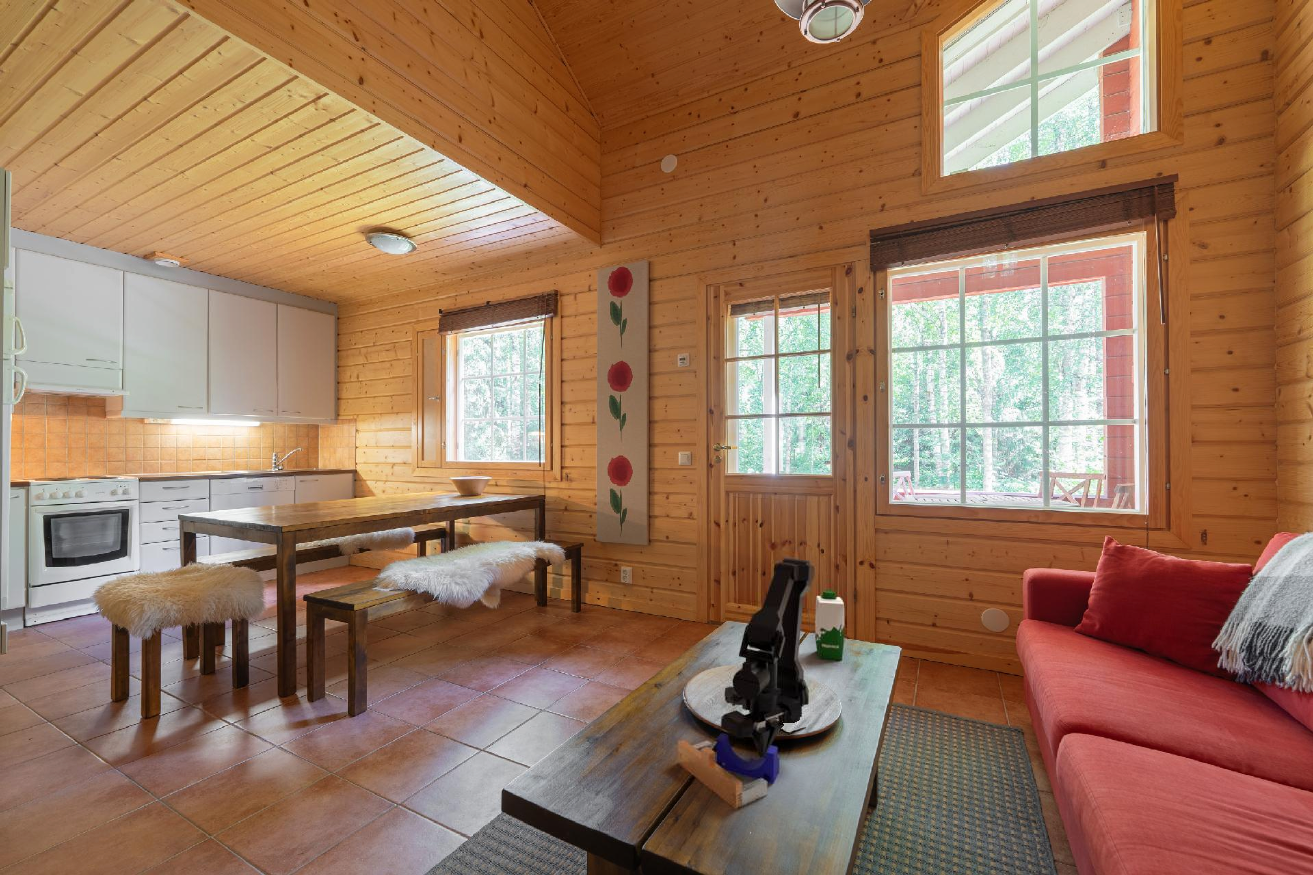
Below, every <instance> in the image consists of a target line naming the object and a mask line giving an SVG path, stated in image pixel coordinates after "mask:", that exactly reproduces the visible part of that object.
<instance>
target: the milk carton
mask: <svg viewBox="0 0 1313 875" xmlns="http://www.w3.org/2000/svg"><path fill="white" fill-rule="evenodd" d="M814 617H815V622H814V624H815V625H814V632H815V633H814V638H815V648H816V652H817V656H818V659H820V660H832V661H834V660H835V661H843V657H844V656H843V654H844V647H845V646H844V645H845V604H844V601H843V599H842V598H841V597H839V596H836V591H835V590H832V589H831V590H829V589H828V590H827V589H824V590H822V595H816V600H815V616H814Z"/></svg>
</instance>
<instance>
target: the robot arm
mask: <svg viewBox="0 0 1313 875" xmlns="http://www.w3.org/2000/svg"><path fill="white" fill-rule="evenodd" d="M811 564H812V563H811V561H810V560H807V559H798V558H791V557H783V559H782V561H775V564H774V567H773V575H772V578H771V582H770V584H769V587H768V590H767V593H766V595H765V597H764V601H763V603H762V606H761V608H760V609H759V610H758V611H756V612H755V613H753V614H752V615H751V617H750V620H749V622H748V624H747V625H745V628H744V633H743V636H742V640H741V644H740V648H739V653H738V657H739V658H743V659H745V661H743V662H742V665H741V666H742V667H741V668H739V669H738V670H737V671H736V672H735V674H734V675H733V678H732V686H727V687H725V688H724V701H725V703H727V704H731V706H733V707H735V706H741V708H742V710H745V711H748V712H749V713H746V714H744V713H742V712H740V711H738V710H733V711H730V712H727V713H724V714H723V715H722V716H721V717H720V718H721V720H720V728H721V729H723V730H724V731H725V732H727V733H729V734H731V735H732V736H733V737H735V738H737V739H744V738H746V737H747V738H748V737H751V736H752V739H753V741H754V742H753V743H754V745H755V748H756V749H755V750H756V751H757V755H758V756H759V757H761V758H763V757H765V756H766V752H767V750H768V749H769V747H770V745H771V746H772V744H773V742H774V740H775V738H776V737H777V735H778V734H779V732H780V730H781V728H782V727H783V726H784V724H783V723H795V722H797V721H799V720H800V717H802V718H803V708H804V706H805V705H809V702H810V701H809V699H810V697H809V696H810V695H809V691H810V690H809V688H808V685H807V682H806V680H805V675H804V674H805V672H804V669H803V666H802V664H801V663H800V660H799V653H800V639H801V630H802V629H801V628H802V618H803V617H802V616H803V606H804V597H805V595H806V594H807V593H808V591H809V590H810V589H811V588H812V582H813V580H814V578H815V574H816V573H815V566H814V565H811ZM748 647H749V648H748ZM750 648H751V649H750Z"/></svg>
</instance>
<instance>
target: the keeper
mask: <svg viewBox="0 0 1313 875" xmlns="http://www.w3.org/2000/svg"><path fill="white" fill-rule="evenodd" d="M677 763H678V764H679V766H681V767H682V768H683V769H685V770H686V771H687V772H688V773H689V774H691V776H693V777H695V778H696V779H697V780H699V782H701V783H702V782H703V783H702V784H703V785H705V786H706V787H707V786H708V787H707V788H708V789H710V790H711V791H712V790H713V791H712V792H714V793H715V794H716V795H717V794H718V796H719V797H720V798H721V799H722V800H724V801H725V802H726V801H727V802H726V803H728V804H729V806H731V805H732V806H731V807H732V808H733V809H735V810H737V809H739V808H741V807H743V805H744V806H745V805H748V804H750V803H752V802H754V801H756V799H757V800H759V799H761V798H763V797H765V796H767V795H768V782H767V781H766V780H764V779H763V778H760V779H755V780H753V781H751V782H749V783H745V784H744V785H743V782H742V781H741V780H740V779H738V778H737V777H736V776H734V775H733V774H731V772H730V771H726V770H725V769H723V768H722V767H720V766H719V765H718V764H716V752H715V751H714V750H713V744H712V742H711V741H709V740H704V741H702V742H699V743H697V744H690V743H689V742H688V741H687V740H684V739H682V740H679V741H677ZM747 803H748V804H747ZM738 807H739V808H738Z"/></svg>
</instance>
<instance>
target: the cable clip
mask: <svg viewBox="0 0 1313 875" xmlns="http://www.w3.org/2000/svg"><path fill="white" fill-rule="evenodd" d="M778 748H779V747H778V746H775V745H772V744H771V745H770V747H769V749H768V750H767V752H766V755H765V757H761V758H752V757H751V758H750V759H749V760H748V761H747V760H745V759H743V758H741V757H740V756H739V754H736V752H735V751H734V750H733V747H732V746H731V743H730V739H729V734H726V733H724V732H723V733H722V732H721V733H720V734H719V736H718V737H717V739H716V752H715V763H716V764H718V765H719V766H720V767H722V768H723V769H725V770H726V771H727V772H729V773H734V774H737V773H738V774H737V775H740V774H741V775H740V776H744V777H748V778H751V777H752V779H755V780H758V779H760V778H763V779H764V780H766V781H767V783H770V784H772V785H773V784H775V781H776V779H777V777H778V775H779V773H780V758H779V757H778V752H779V750H778Z"/></svg>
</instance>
